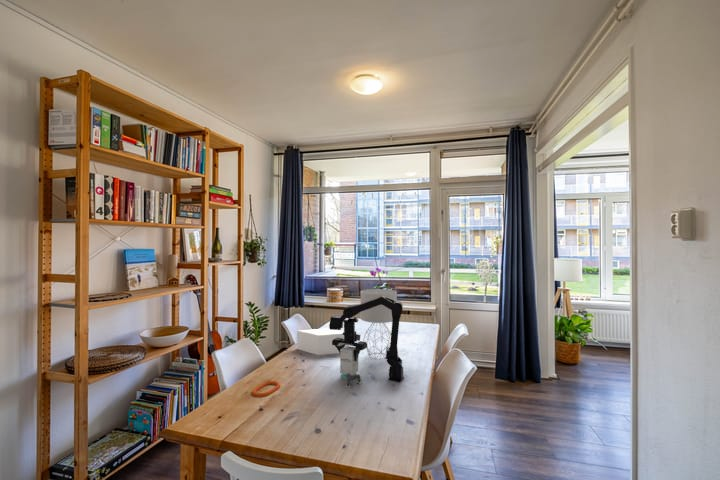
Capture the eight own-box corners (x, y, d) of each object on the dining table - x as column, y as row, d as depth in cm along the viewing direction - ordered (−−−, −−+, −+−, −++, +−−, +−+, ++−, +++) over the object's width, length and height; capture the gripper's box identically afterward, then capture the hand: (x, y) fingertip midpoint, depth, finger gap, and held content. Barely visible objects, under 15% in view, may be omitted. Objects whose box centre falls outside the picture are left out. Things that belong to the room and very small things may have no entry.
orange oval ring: (284, 382, 159) (264, 395, 145) (284, 385, 159) (264, 399, 145) (268, 379, 163) (247, 391, 149) (268, 382, 163) (247, 395, 149)
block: (345, 357, 199) (345, 336, 199) (291, 353, 205) (292, 334, 205) (351, 348, 216) (351, 329, 216) (301, 345, 222) (301, 327, 223)
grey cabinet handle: (362, 382, 162) (362, 374, 162) (353, 389, 154) (353, 380, 154) (349, 379, 166) (349, 371, 166) (339, 385, 158) (339, 377, 158)
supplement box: (339, 373, 168) (339, 349, 168) (346, 368, 175) (346, 345, 175) (352, 376, 165) (352, 351, 165) (358, 371, 171) (358, 347, 171)
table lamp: (396, 350, 210) (396, 289, 211) (397, 363, 188) (397, 294, 189) (362, 349, 212) (362, 288, 213) (358, 361, 190) (358, 293, 191)
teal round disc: (360, 374, 171) (360, 373, 171) (352, 380, 164) (352, 380, 164) (346, 371, 176) (346, 370, 176) (337, 377, 168) (337, 376, 168)
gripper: (372, 328, 172) (372, 358, 172) (342, 324, 182) (342, 352, 181) (361, 333, 163) (362, 365, 163) (331, 329, 172) (331, 358, 172)
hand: (349, 359), depth 170 cm, fingers closed on supplement box, 7 cm apart
